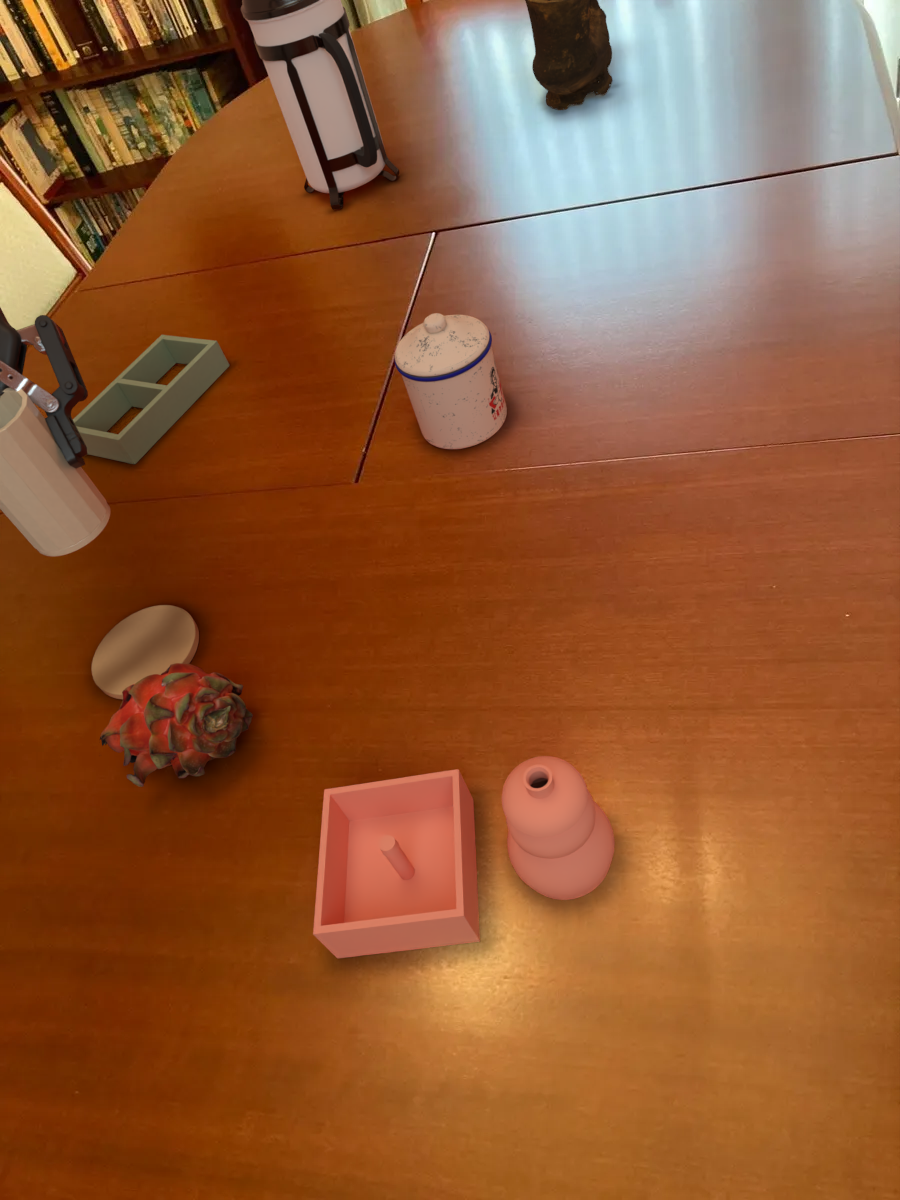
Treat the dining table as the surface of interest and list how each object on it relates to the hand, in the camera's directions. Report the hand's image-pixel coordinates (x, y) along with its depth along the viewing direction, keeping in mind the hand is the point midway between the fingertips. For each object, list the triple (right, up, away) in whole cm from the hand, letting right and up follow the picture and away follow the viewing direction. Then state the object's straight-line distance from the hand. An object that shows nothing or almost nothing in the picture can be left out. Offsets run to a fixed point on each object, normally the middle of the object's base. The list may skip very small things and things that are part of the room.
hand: (32, 485), depth 64 cm
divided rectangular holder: (-4, +14, +38) cm, 41 cm away
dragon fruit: (+11, -20, +4) cm, 23 cm away
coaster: (+4, -13, +12) cm, 18 cm away
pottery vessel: (+49, +67, +66) cm, 106 cm away
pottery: (+32, -25, -8) cm, 42 cm away
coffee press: (+17, +52, +64) cm, 84 cm away
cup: (+1, -3, +5) cm, 6 cm away
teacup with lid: (+32, +10, +23) cm, 40 cm away
